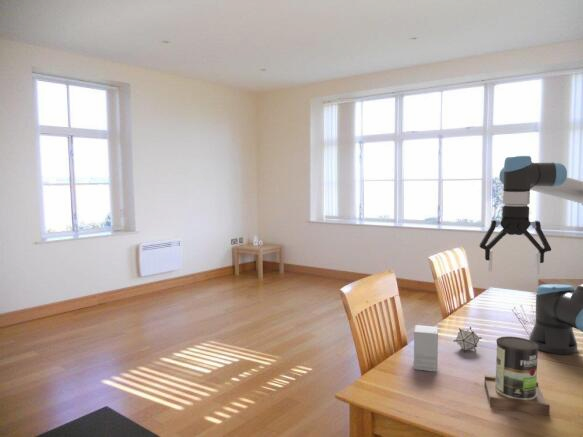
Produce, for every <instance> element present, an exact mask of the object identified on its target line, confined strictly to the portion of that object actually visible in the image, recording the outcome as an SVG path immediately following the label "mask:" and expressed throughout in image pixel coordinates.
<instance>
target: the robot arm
mask: <svg viewBox="0 0 583 437" xmlns="http://www.w3.org/2000/svg"><path fill="white" fill-rule="evenodd" d="M498 177H499V181H500V182H501V184H503V188H502V189H503V192H502V193H503V194H502V195H503V196H502V204H503V206H502V211H501V212H502V213H501V216H502V217H501V218H502V219H501V220H495V219H492V220H490V227H488V229H487V232H486V233H485V235H484V236H483V239H482V240H481V241H480V243H479V248H480V249H483V250H484V253H485V254H484V259H485V260H486V261H488V272H492V271H493V250H492V248H493V247H494V246H495V245H497V243H498V242H500V240H501V239H503V237H505V236H506V235H510V236H512V235H513V236H514V235H518V236H521V235H524V236H525V237H526V238H527V239H528V241H529V242H530V243H531V244H532V245H533V246H534V247H535V249H537V250H538V251H535V264H534V273H535V274H536V275H537V274H538V275H540V272H541V271H540V270H541V269H540V268H541V264H543V263H544V262H545V253H547V252H551V251H552V248H551V246H550V244H549V241H548V240H547V238H546V236H545V234H544V232H543V230H542V228H541V227H542V226H541V222H540V221H539V220H535V221H530V207H529V206H528V205H530V200H531V199H530V198H531V195H530V194H531V191H533V192H536V193H541V194H544V195H548V196H552V197H556V198H558V199H559V198H560V199H564V200H567V201H571V202H574V203H577V204H581V205H582V206H583V181H582V180H578V179H574V178H572V177H571V178H570V177H568V170H567V168H566V166H565V165H564V164H562V162H561V163H560V162H554V161H553V162H532V157H531V156H530V155H511V156H510V155H509V156H506V158H505V159H504V164H503V167H502V168H501V170H500V172H499V176H498ZM499 226H501V228H502V229H501V230H500V231H499V233H498V234H497V235H496V236H495V237H494V238H493V239H492V240H491V241H490V242H489V243H488V241H489V240H490V238H491V236H492V235H493V233H494V231H495V230H496V228H498V227H499ZM530 227H532V229H535V232H536V233H537V236H538V237H539V239H540V241H541V243H542V245H543V246H541V245H540V243H538V241H537V240H536V239H535V238H534V237H533V235H531V233H530V232H529V231H528V229H529V228H530ZM487 243H488V244H487ZM486 244H487V245H486ZM534 322H535V323H534V326H533V328H532V331H531V332H530V335H529V338H528V340H530V341H533V342H535V343H536V344H538V346H539V348H538V351H541V352H545V353H550V354H557V355H573V354H575V353H577V352H578V343H577V342H578V341H577V339H576V336H575V333H574V330H573V328H574V329H576V330H578V331H580V332H582V333H583V283H582V284H578V285H577V287H576V288H575V287H574V286H573V285H570V284H563V283H562V284H561V283H560V284H559V283H555V284H553V283H551V284H550V283H547V284H546V283H545V284H540V285H538V287H537V288H536V294H535V321H534Z"/></svg>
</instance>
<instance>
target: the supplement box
mask: <svg viewBox="0 0 583 437" xmlns="http://www.w3.org/2000/svg"><path fill="white" fill-rule="evenodd" d="M438 330H439V329H438V326H429V325H419V324H415V326H414V331H413V368H414V370H419V371H420V370H421V371H428V372H438V360H439V359H438V357H439V356H438V353H439V352H438V351H439V349H438V348H439V347H438V346H439V341H438V340H439V331H438Z"/></svg>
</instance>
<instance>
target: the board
mask: <svg viewBox="0 0 583 437" xmlns="http://www.w3.org/2000/svg"><path fill="white" fill-rule="evenodd" d="M495 384H496V375H495V376H493V375H484V388H485V391H486V392H485V393H486V396H487V400H488V404H489V407H490V408H494V409H501V410H507V411H508V410H509V411H513V412H521V411H523V412H522V413H528V412H529V414H536V415H542V416H548V415H549V416H550V408H551V406H550V403H548V401H546V399H545V398H546V397H545V396H544V394H543V392H542V390H541V388H540V387H539V382H538V381H536V398H535V399H533V400H529V401H528V400H521V399H513V398H507V397H505V396H503V395H501V394H499V393H498V392H497V391H496V390H495Z"/></svg>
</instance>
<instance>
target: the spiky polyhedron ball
mask: <svg viewBox="0 0 583 437" xmlns="http://www.w3.org/2000/svg"><path fill="white" fill-rule="evenodd" d="M458 330H459V332H458V334H457V336H456V337H455V338H456V339H454V340H453V342H456V343H457V344H458V345H459V346H460V347H461V348H462V350H463V353H466V351H470V350H474V351H477V349H476V348H477V347H478V343H479V342H480V340H481V339H482V337H481V336H480V337H479V336H478V334H476V333H475V331H473V330H472V327H471V326H470V327H469V328H466V329H461V328H460V327H459V328H458Z"/></svg>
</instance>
